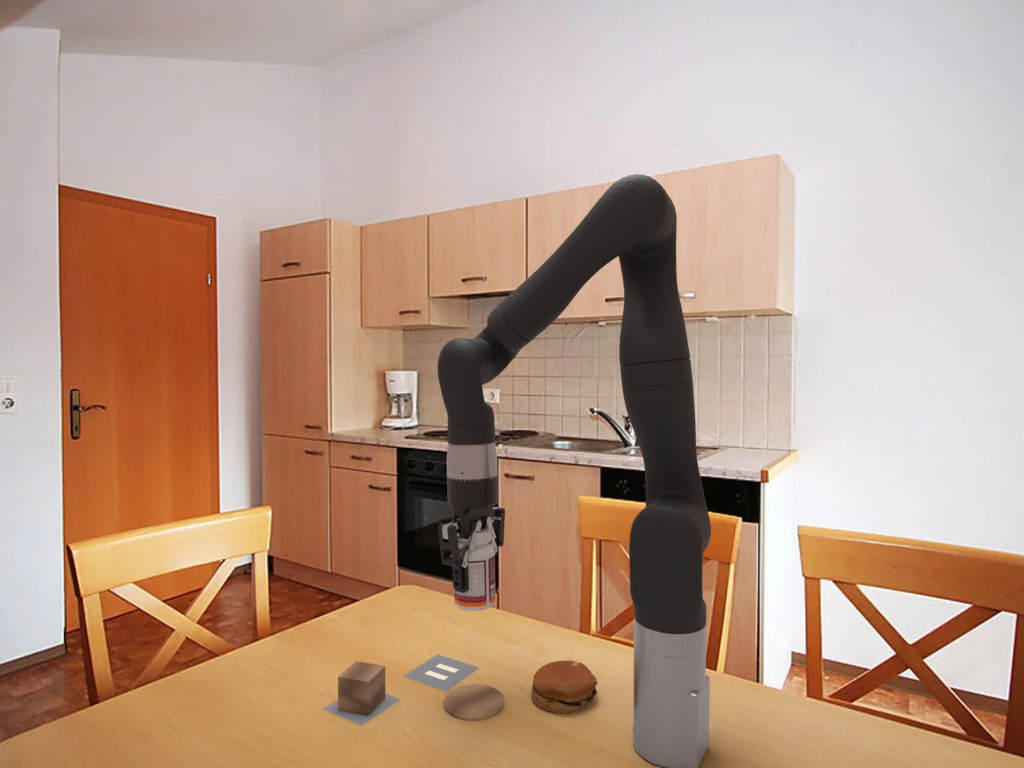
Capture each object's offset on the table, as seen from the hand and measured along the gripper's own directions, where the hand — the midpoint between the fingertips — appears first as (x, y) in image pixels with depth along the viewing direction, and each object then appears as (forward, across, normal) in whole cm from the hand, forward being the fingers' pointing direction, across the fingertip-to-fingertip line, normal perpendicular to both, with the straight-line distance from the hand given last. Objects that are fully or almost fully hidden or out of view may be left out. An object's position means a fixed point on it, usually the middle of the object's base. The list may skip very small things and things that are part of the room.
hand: (474, 584), depth 94 cm
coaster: (+18, -1, 0) cm, 18 cm away
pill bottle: (+3, 0, 0) cm, 3 cm away
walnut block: (+17, -10, +14) cm, 24 cm away
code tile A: (+18, +4, +10) cm, 21 cm away
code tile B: (+18, -10, +14) cm, 25 cm away
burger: (+19, +8, -10) cm, 23 cm away
